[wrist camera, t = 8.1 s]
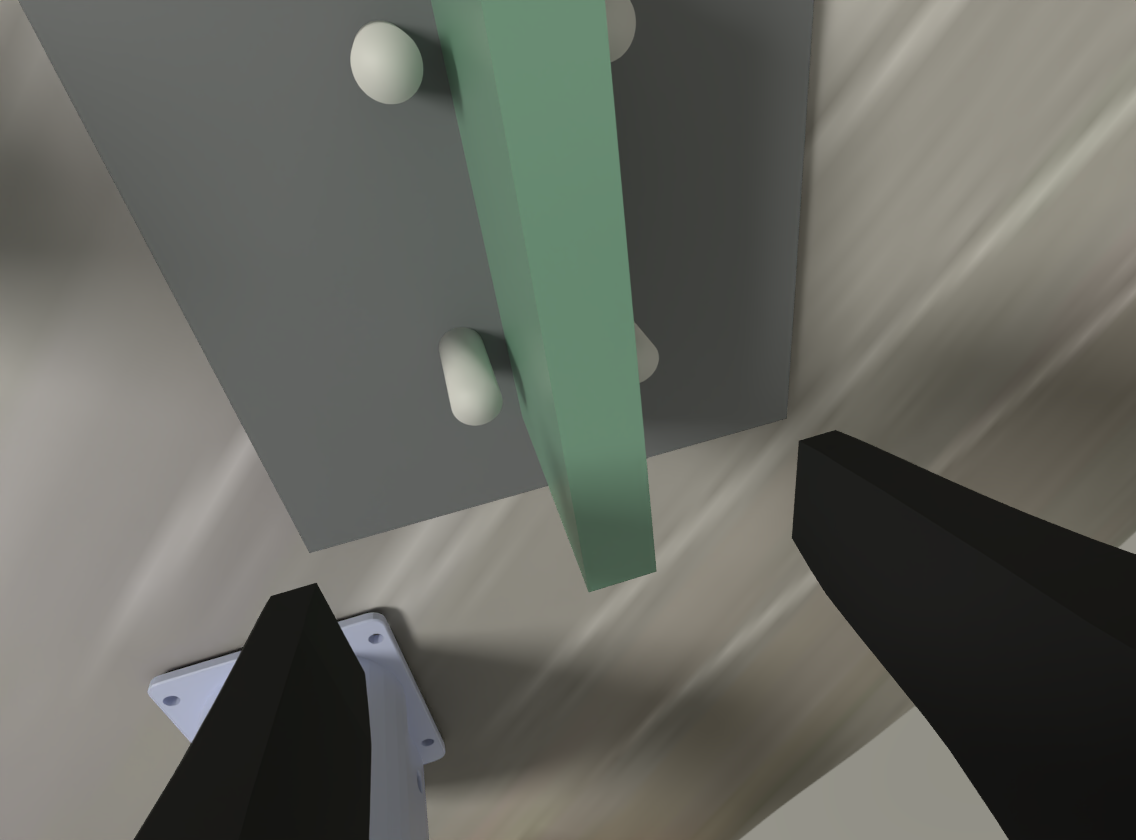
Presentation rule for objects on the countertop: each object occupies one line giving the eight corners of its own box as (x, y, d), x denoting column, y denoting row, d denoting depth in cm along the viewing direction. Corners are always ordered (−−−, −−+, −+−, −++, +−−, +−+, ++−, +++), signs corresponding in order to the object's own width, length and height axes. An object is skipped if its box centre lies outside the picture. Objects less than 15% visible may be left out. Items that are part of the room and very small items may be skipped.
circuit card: (570, 404, 19) (656, 571, 14) (522, 416, 19) (589, 591, 13) (485, -107, 13) (587, -198, 7) (409, -96, 12) (448, -179, 7)
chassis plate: (771, 403, 23) (839, 470, 19) (311, 531, 21) (301, 630, 17) (808, -365, 13) (963, -495, 9) (-98, -270, 10) (-309, -395, 7)
